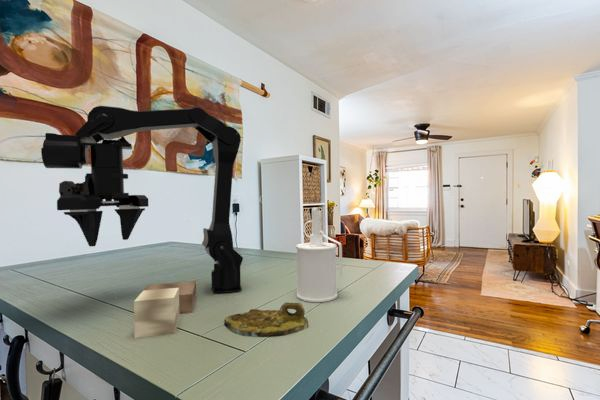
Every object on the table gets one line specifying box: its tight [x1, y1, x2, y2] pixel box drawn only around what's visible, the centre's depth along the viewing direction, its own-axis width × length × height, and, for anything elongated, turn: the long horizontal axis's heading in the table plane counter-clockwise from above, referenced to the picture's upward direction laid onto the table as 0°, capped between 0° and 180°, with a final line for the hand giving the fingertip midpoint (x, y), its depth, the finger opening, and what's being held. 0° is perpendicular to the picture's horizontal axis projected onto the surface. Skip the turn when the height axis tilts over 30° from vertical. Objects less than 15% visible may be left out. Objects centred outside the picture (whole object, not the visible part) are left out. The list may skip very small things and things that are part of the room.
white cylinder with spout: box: [295, 207, 343, 303], centre depth 68 cm, size 10×9×20 cm
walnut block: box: [141, 280, 197, 315], centre depth 63 cm, size 10×10×4 cm
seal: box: [223, 302, 309, 338], centre depth 53 cm, size 9×5×15 cm
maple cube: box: [133, 288, 180, 339], centre depth 52 cm, size 6×6×6 cm
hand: (110, 242), depth 64 cm, fingers open, 9 cm apart
